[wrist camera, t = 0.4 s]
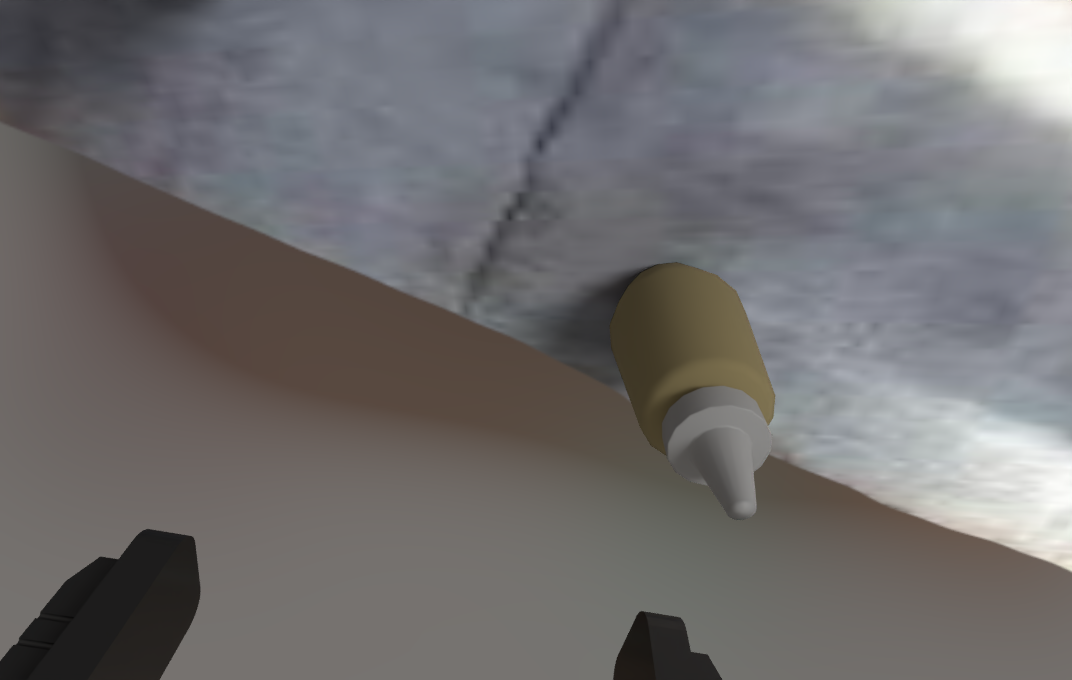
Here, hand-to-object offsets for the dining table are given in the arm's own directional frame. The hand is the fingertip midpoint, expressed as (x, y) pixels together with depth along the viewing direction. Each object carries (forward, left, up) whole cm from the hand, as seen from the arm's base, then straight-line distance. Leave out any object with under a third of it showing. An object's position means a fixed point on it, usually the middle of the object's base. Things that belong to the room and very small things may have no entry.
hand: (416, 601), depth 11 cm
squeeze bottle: (+5, +12, -29) cm, 31 cm away
